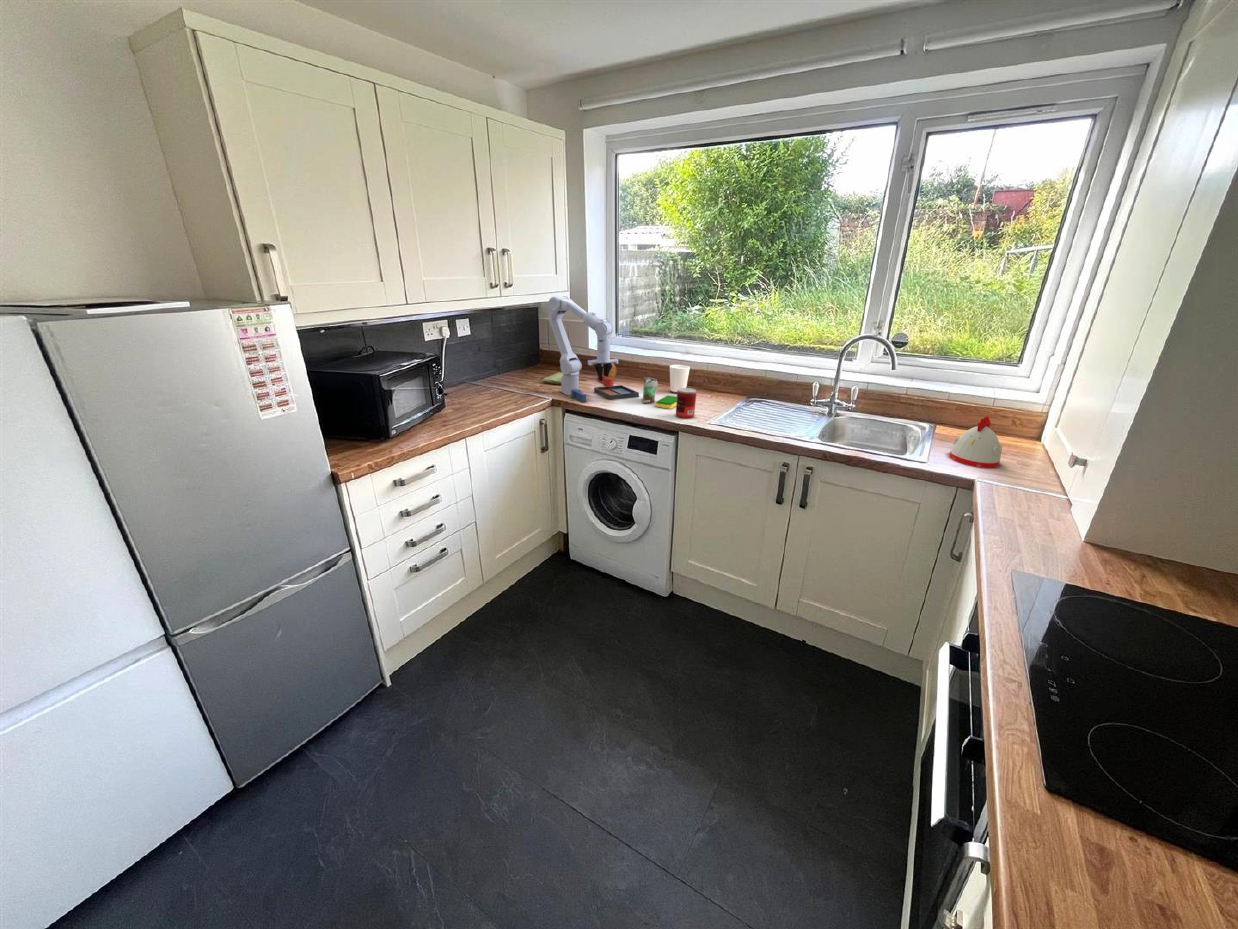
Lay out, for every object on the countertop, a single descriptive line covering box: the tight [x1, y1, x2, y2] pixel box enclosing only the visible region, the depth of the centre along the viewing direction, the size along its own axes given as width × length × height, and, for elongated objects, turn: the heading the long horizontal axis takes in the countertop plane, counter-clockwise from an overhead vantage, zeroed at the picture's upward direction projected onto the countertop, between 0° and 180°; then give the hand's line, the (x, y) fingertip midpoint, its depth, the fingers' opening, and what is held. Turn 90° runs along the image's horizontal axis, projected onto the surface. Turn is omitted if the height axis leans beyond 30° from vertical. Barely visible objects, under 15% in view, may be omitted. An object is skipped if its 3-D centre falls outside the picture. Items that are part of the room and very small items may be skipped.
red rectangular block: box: [597, 375, 614, 387], centre depth 226 cm, size 4×11×3 cm, turn 28°
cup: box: [669, 364, 691, 394], centre depth 245 cm, size 10×10×13 cm
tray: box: [593, 384, 640, 401], centre depth 238 cm, size 15×17×2 cm
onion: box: [601, 364, 617, 379], centre depth 267 cm, size 10×10×10 cm
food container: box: [642, 376, 659, 405], centre depth 226 cm, size 12×6×10 cm, turn 179°
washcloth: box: [542, 371, 563, 386], centre depth 260 cm, size 13×18×3 cm
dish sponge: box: [655, 395, 677, 410], centre depth 223 cm, size 7×14×2 cm, turn 154°
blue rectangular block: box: [570, 388, 587, 403], centre depth 227 cm, size 4×11×3 cm, turn 28°
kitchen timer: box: [948, 416, 1003, 469], centre depth 164 cm, size 14×14×15 cm
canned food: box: [675, 387, 697, 419], centre depth 205 cm, size 8×8×11 cm
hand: (602, 380), depth 228 cm, fingers closed on red rectangular block, 2 cm apart
